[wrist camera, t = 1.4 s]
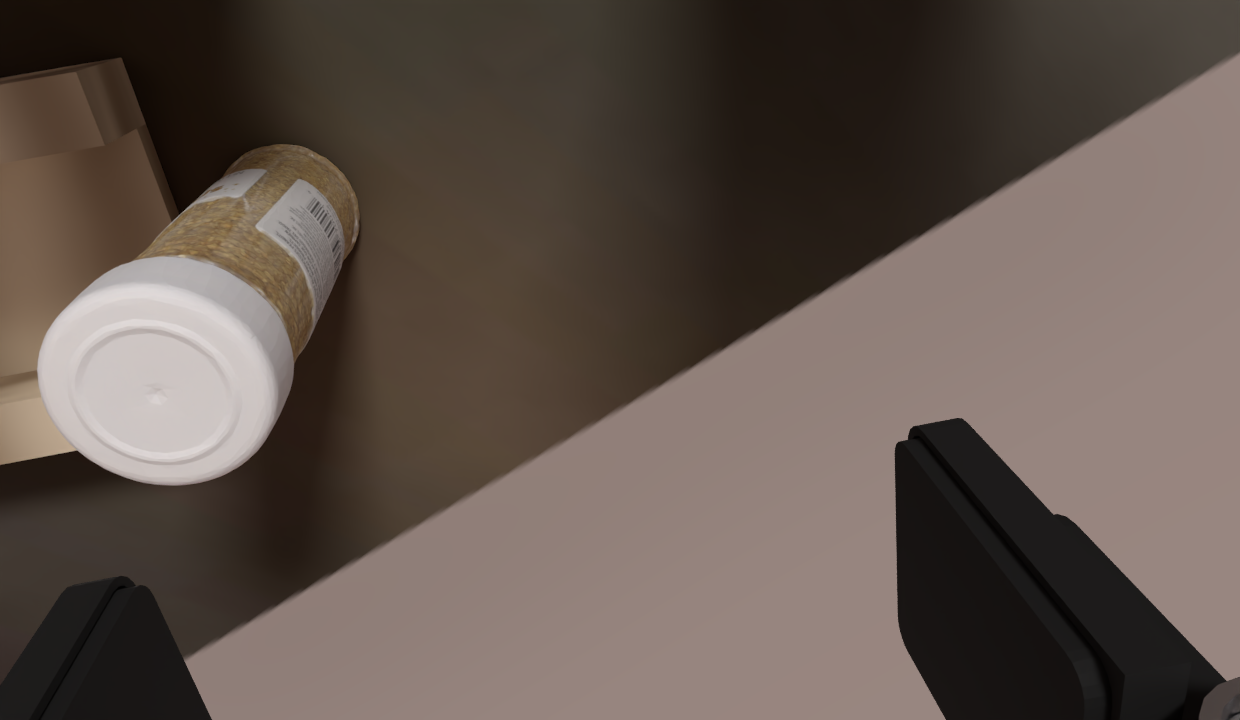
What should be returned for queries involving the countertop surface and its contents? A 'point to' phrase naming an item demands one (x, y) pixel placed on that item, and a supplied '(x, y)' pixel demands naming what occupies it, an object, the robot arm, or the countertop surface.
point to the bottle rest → (65, 219)
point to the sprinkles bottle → (202, 323)
